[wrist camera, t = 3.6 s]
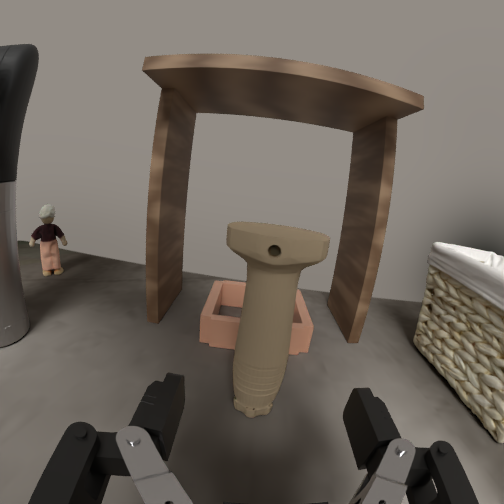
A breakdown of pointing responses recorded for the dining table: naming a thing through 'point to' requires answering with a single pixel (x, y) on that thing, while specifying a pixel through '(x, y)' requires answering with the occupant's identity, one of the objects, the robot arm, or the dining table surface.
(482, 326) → the storage basket
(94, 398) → the dining table surface
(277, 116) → the wooden footstool
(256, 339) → the handle
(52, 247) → the grandmother figurine
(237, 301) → the socket
